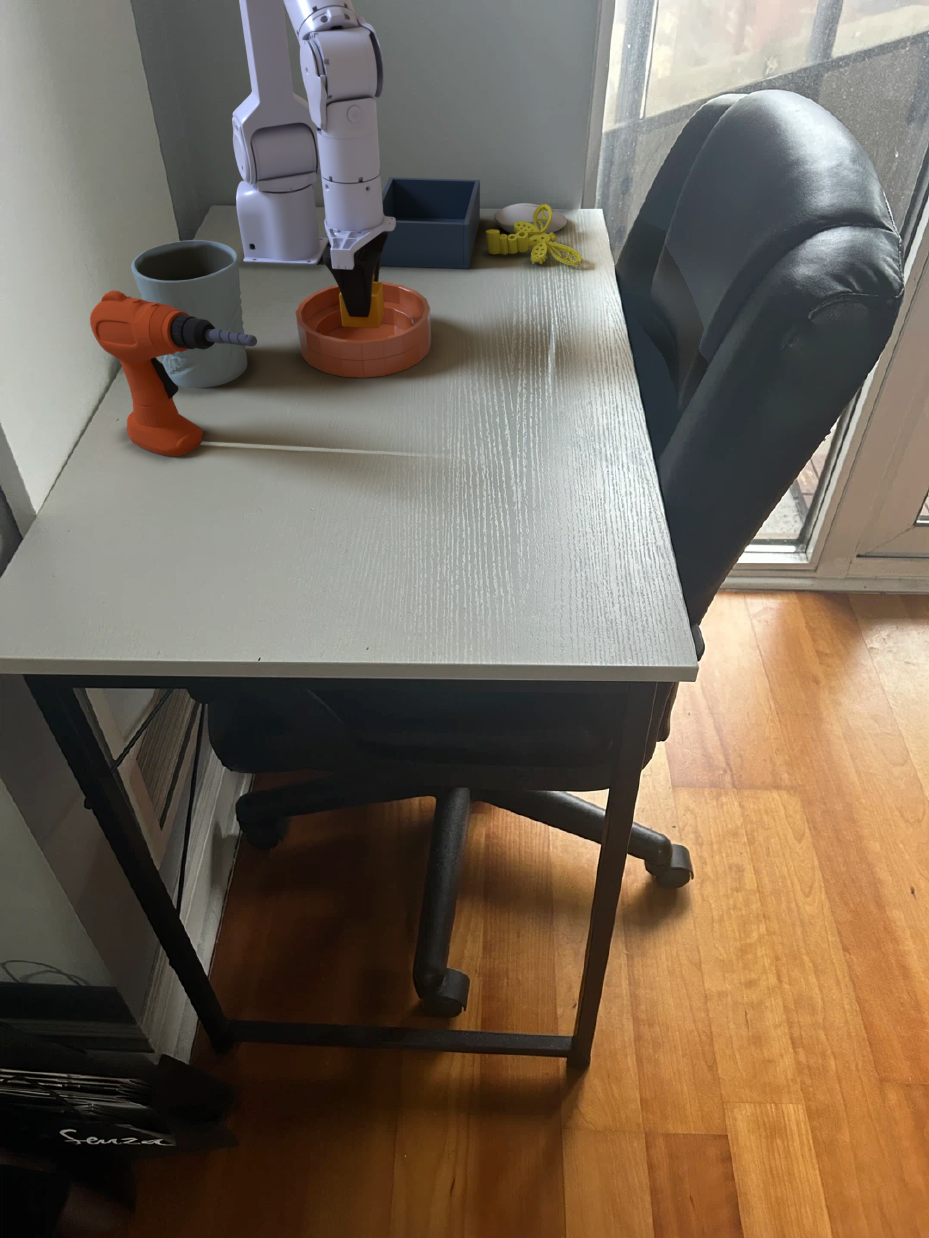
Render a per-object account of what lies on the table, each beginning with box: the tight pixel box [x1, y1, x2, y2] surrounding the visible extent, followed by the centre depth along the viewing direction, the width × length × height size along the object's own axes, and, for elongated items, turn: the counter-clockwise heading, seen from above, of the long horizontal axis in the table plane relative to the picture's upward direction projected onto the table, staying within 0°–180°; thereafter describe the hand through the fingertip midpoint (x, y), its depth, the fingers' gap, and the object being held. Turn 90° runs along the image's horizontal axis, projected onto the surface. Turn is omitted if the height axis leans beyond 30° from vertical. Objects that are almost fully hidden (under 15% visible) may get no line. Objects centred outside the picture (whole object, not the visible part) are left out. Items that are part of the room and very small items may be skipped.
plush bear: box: [339, 276, 384, 328], centre depth 99 cm, size 4×3×7 cm
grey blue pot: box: [130, 239, 248, 389], centre depth 96 cm, size 10×10×12 cm
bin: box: [380, 176, 481, 270], centre depth 122 cm, size 12×15×6 cm
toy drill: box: [89, 289, 258, 457], centre depth 84 cm, size 5×19×15 cm, turn 62°
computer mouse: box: [493, 202, 568, 234], centre depth 126 cm, size 6×10×3 cm, turn 104°
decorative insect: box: [485, 203, 583, 267], centre depth 119 cm, size 13×3×10 cm
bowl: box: [294, 281, 432, 379], centre depth 102 cm, size 14×14×4 cm
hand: (362, 307), depth 100 cm, fingers closed on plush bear, 3 cm apart
